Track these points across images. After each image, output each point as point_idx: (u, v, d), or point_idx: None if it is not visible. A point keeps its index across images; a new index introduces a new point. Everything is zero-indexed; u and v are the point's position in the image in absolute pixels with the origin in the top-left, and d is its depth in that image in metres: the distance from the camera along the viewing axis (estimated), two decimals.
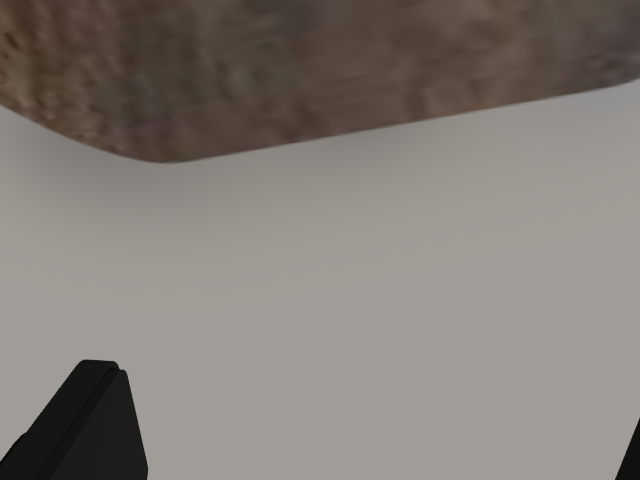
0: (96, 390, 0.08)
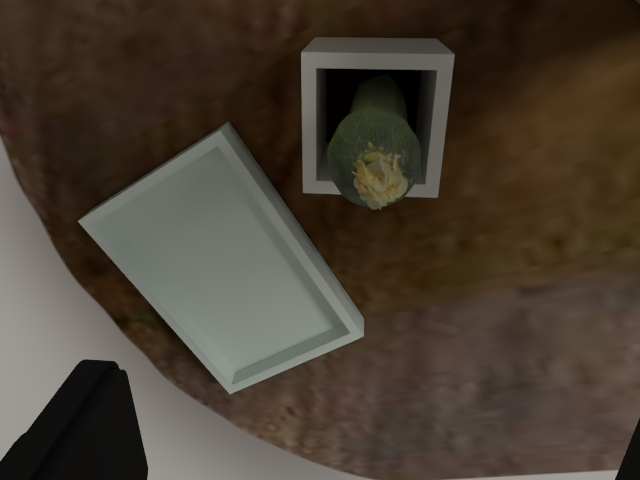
0: (96, 390, 0.08)
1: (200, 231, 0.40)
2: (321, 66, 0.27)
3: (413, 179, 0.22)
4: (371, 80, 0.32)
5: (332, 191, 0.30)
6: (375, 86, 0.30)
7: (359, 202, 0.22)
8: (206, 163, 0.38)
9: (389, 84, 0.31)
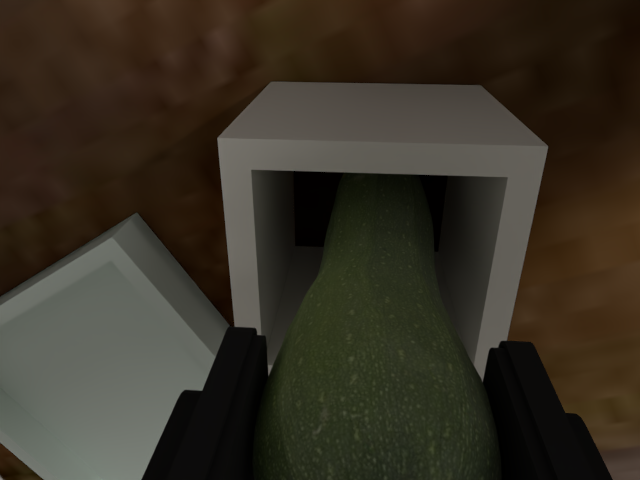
0: (250, 352, 0.09)
1: (105, 370, 0.26)
2: (262, 166, 0.13)
3: None
4: None
5: None
6: (375, 182, 0.16)
7: None
8: (103, 276, 0.23)
9: (400, 174, 0.17)
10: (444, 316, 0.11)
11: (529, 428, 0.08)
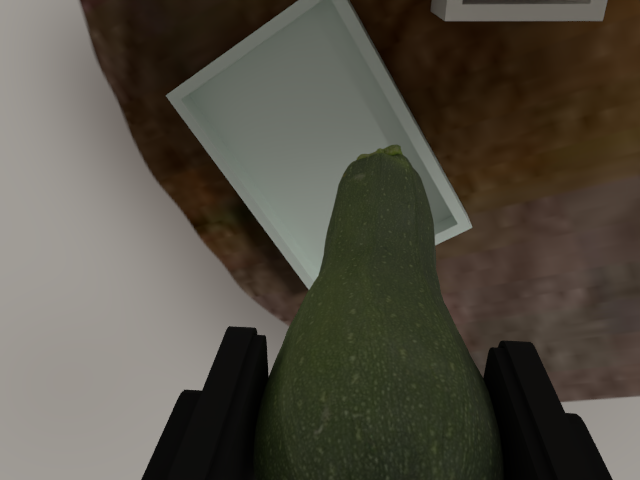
0: (250, 352, 0.09)
1: (296, 110, 0.37)
2: None
3: None
4: (368, 163, 0.18)
5: (479, 17, 0.26)
6: (375, 181, 0.16)
7: None
8: (308, 25, 0.34)
9: (400, 173, 0.17)
10: (446, 315, 0.11)
11: (529, 428, 0.08)
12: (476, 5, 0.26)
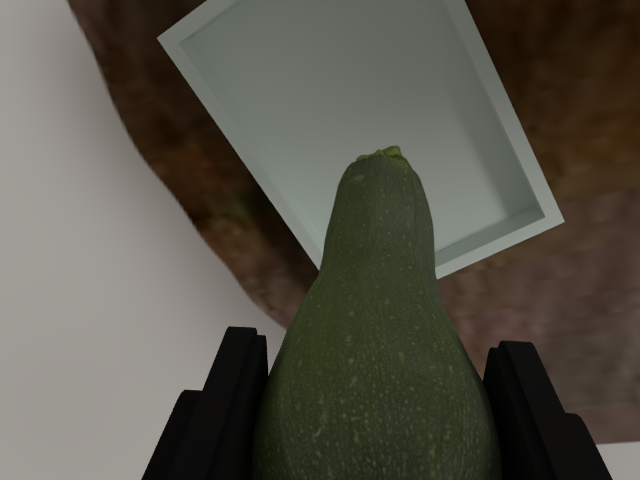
0: (250, 352, 0.09)
1: (333, 62, 0.27)
2: None
3: None
4: (367, 164, 0.18)
5: None
6: (375, 182, 0.16)
7: None
8: None
9: (400, 174, 0.17)
10: (444, 317, 0.11)
11: (529, 428, 0.08)
12: None
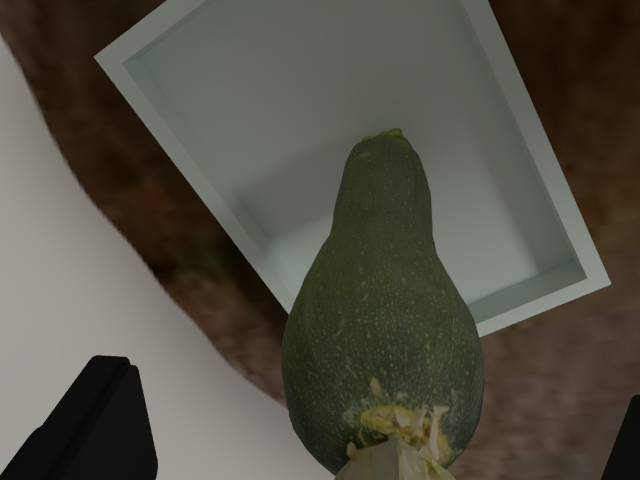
0: (109, 385, 0.08)
1: (321, 86, 0.22)
2: None
3: (471, 437, 0.10)
4: (372, 143, 0.20)
5: None
6: (379, 158, 0.18)
7: None
8: None
9: (402, 152, 0.19)
10: (440, 264, 0.13)
11: None
12: None
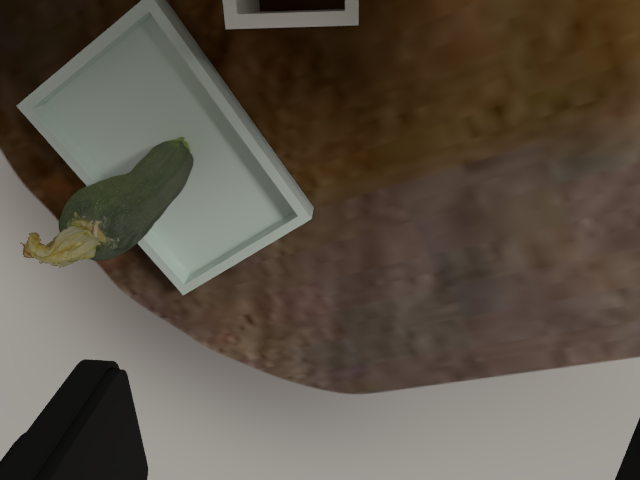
0: (96, 390, 0.08)
1: (142, 116, 0.40)
2: None
3: (121, 238, 0.28)
4: (159, 145, 0.38)
5: (254, 25, 0.30)
6: (155, 151, 0.37)
7: None
8: (141, 39, 0.38)
9: (171, 148, 0.37)
10: (143, 189, 0.31)
11: None
12: (249, 14, 0.30)
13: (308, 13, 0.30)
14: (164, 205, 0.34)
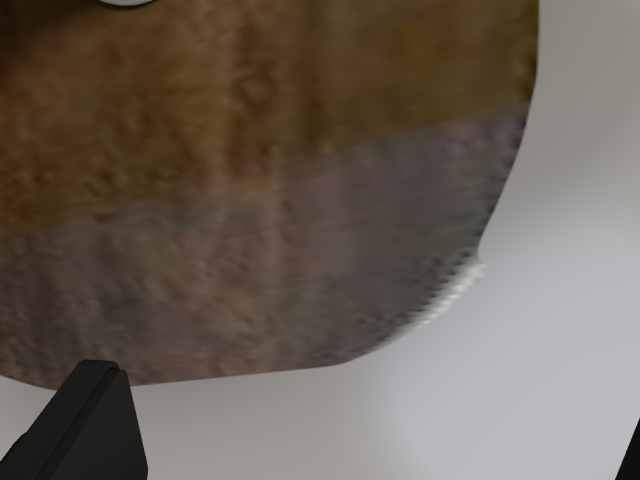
0: (96, 390, 0.08)
1: None
2: None
3: None
4: None
5: None
6: None
7: None
8: None
9: None
10: None
11: None
12: None
13: None
14: None
